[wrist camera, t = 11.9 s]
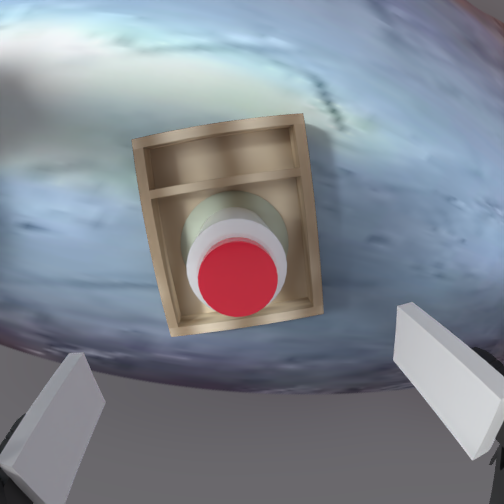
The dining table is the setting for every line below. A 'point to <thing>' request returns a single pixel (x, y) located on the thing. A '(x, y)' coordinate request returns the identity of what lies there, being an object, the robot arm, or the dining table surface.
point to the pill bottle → (236, 263)
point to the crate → (224, 196)
